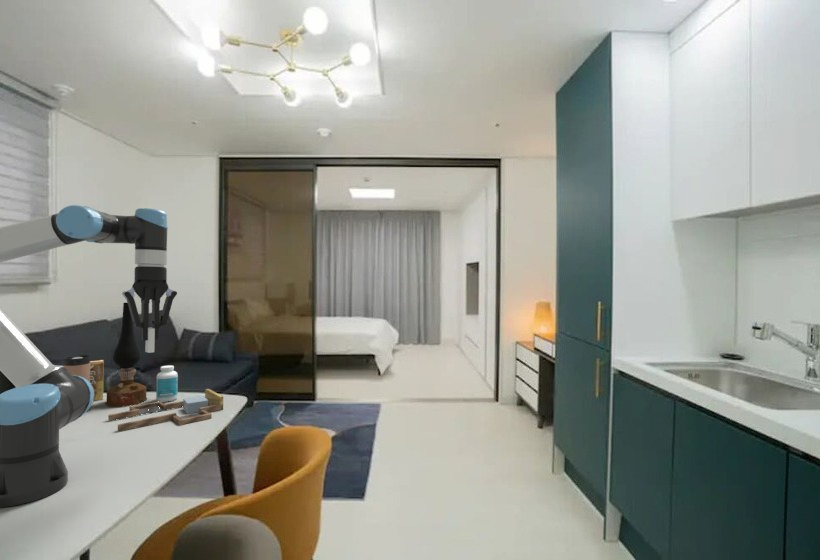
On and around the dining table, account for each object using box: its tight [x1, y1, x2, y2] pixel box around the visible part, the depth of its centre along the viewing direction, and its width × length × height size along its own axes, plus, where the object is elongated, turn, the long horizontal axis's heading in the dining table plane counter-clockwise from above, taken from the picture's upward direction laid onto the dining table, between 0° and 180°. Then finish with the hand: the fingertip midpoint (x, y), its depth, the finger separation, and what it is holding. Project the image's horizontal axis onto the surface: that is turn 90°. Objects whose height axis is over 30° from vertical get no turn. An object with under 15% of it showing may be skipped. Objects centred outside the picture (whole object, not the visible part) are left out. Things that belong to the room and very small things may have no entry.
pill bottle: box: [155, 365, 179, 403], centre depth 170 cm, size 8×7×14 cm
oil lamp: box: [105, 302, 148, 408], centre depth 168 cm, size 14×15×40 cm
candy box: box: [90, 359, 105, 402], centre depth 168 cm, size 9×4×15 cm, turn 127°
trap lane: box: [107, 388, 224, 432], centre depth 152 cm, size 33×28×5 cm
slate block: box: [182, 395, 209, 414], centre depth 159 cm, size 7×7×4 cm
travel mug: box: [63, 354, 91, 413], centre depth 154 cm, size 8×8×20 cm
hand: (149, 351), depth 116 cm, fingers closed
